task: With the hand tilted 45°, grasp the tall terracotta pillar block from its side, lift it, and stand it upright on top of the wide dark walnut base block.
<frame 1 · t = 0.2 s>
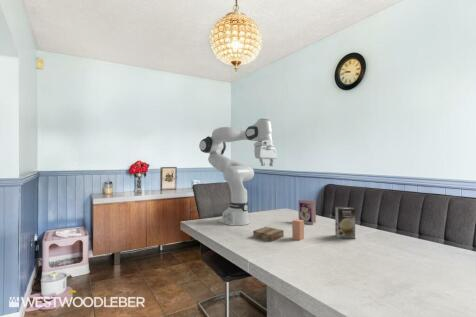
hand: (267, 166, 164), 39 cm above the table, tool pointing down, fingers open, 8 cm apart
pillar block: (298, 238, 143), on the table
coffee box: (345, 237, 146), on the table
base block: (268, 237, 147), on the table
greeting card: (308, 222, 180), on the table
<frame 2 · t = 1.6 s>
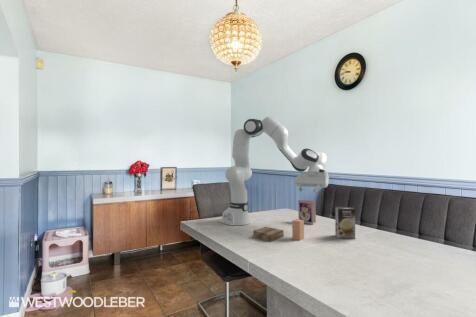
hand: (307, 191, 155), 24 cm above the table, tool tilted 45°, fingers open, 8 cm apart
nothing on the table moved.
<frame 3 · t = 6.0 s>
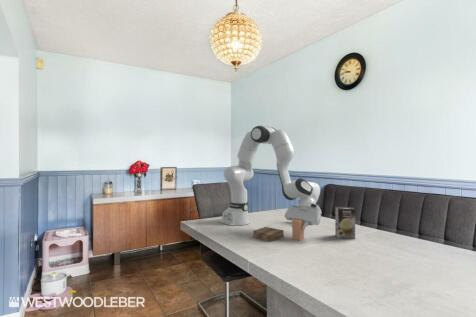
hand: (297, 228, 143), 6 cm above the table, tool tilted 45°, fingers closed on pillar block, 4 cm apart
pillar block: (298, 238, 143), on the table, touching gripper
everything else where it was.
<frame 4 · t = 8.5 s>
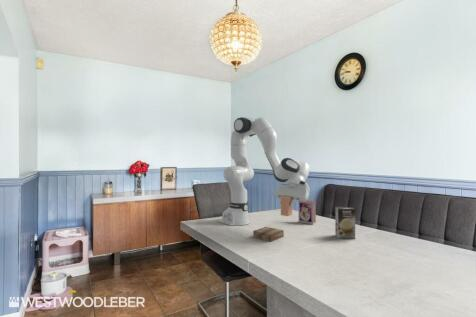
hand: (285, 204, 145), 18 cm above the table, tool tilted 45°, fingers closed on pillar block, 4 cm apart
pillar block: (286, 214, 145), point 13 cm above the table, touching gripper
everything else where it was.
when the fingers open (11 cm above the table, at t = 11.4 s): pillar block drops 2 cm, resting on base block.
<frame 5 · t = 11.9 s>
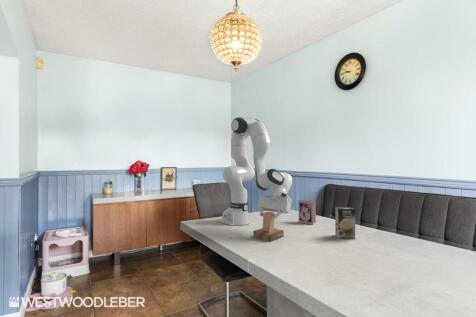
hand: (267, 216, 146), 11 cm above the table, tool tilted 45°, fingers open, 8 cm apart
pillar block: (268, 230, 147), point 3 cm above the table, touching base block
base block: (268, 237, 147), on the table, touching pillar block
everything else where it was.
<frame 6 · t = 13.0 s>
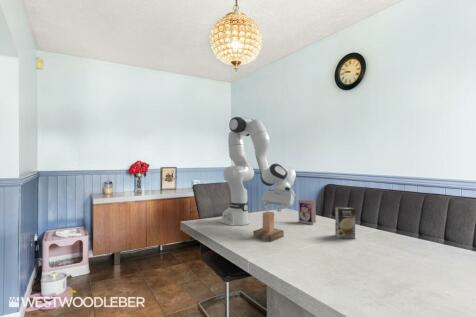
hand: (271, 209, 150), 15 cm above the table, tool tilted 45°, fingers open, 8 cm apart
nothing on the table moved.
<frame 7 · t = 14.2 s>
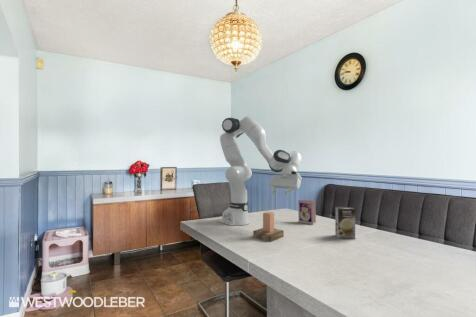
hand: (279, 193, 158), 23 cm above the table, tool tilted 40°, fingers open, 8 cm apart
pillar block: (268, 230, 147), point 3 cm above the table
base block: (268, 237, 147), on the table
everything else where it was.
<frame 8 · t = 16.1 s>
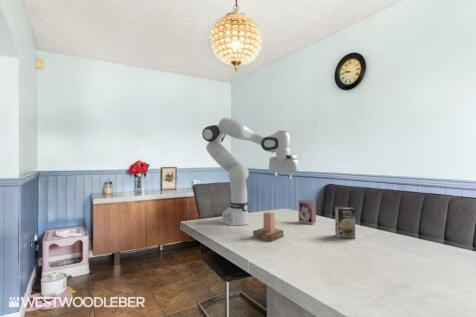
hand: (283, 178, 166), 31 cm above the table, tool pointing down, fingers open, 8 cm apart
pillar block: (269, 230, 147), point 3 cm above the table, touching base block
base block: (268, 237, 147), on the table, touching pillar block
everything else where it was.
at the end: pillar block inside the target area on the base block (0.4 cm from its centre), point 4.0 cm above the base block's base; pillar block tilted 0°; the gripper is holding nothing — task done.
